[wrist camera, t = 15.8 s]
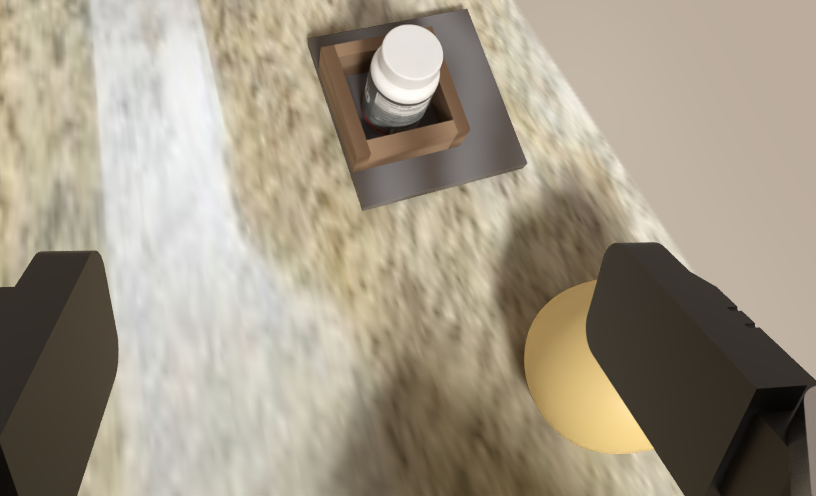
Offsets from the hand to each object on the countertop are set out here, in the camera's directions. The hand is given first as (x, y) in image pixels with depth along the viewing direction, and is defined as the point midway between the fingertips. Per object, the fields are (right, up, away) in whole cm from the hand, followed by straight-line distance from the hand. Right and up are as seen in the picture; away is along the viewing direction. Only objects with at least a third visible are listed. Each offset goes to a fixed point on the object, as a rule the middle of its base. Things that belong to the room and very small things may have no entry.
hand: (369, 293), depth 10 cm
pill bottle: (-1, +11, +37) cm, 39 cm away
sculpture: (+14, -8, +36) cm, 40 cm away
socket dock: (+1, +12, +39) cm, 41 cm away
